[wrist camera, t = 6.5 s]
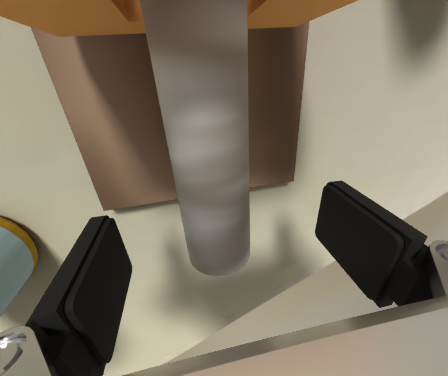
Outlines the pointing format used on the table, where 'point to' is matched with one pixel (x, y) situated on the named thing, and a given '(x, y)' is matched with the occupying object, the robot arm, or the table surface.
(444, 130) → the table surface
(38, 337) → the robot arm
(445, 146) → the table surface
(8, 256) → the bottle
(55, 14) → the collar
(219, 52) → the pipe stand
